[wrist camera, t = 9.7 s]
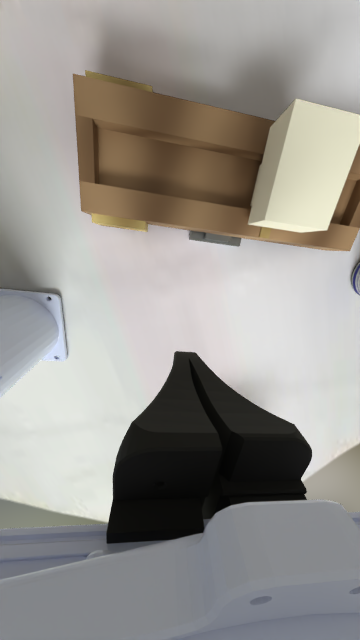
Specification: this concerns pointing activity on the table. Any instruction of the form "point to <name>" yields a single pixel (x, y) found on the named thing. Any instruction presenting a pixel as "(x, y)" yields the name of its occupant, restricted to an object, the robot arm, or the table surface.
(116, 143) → the beam
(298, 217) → the plate
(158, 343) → the table surface
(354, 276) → the energy drink
